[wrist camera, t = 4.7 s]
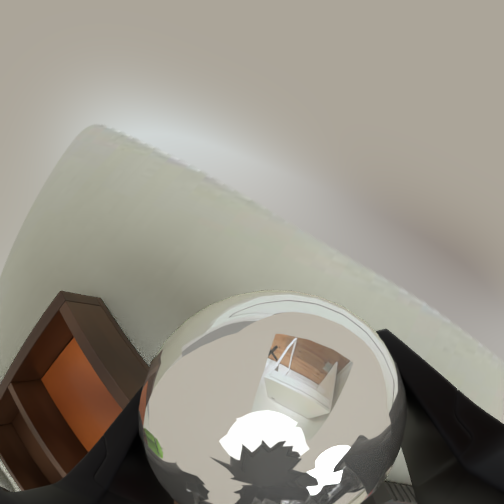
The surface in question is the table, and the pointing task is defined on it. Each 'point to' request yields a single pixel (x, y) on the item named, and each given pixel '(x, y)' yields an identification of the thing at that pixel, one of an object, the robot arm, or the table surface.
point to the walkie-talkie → (392, 494)
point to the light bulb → (272, 404)
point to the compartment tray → (65, 389)
